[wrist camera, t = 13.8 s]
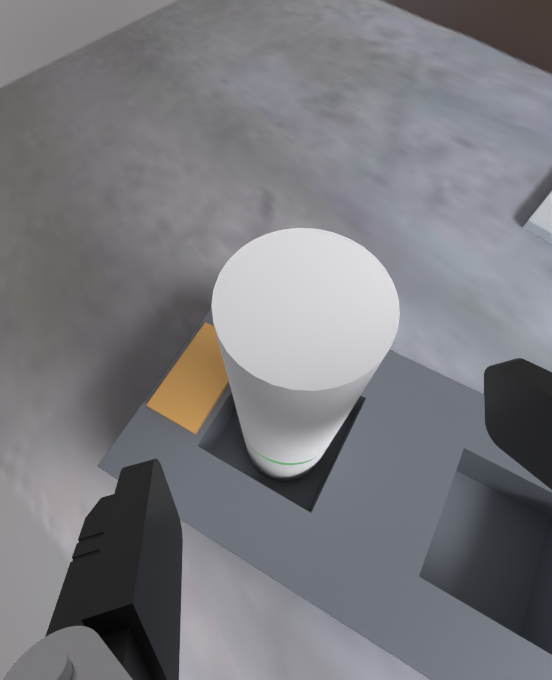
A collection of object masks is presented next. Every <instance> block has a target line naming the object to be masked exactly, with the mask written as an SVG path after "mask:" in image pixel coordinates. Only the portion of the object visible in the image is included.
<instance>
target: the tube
mask: <svg viewBox="0 0 552 680" xmlns="http://www.w3.org/2000/svg"><path fill="white" fill-rule="evenodd" d="M211 307H212V316H213V324H214V327H215V331H216V335H217V339H218V342H219V346H220V350H221V354H222V357H223V361H224V365H225V369H226V372H227V376H228V380H229V384H230V388H231V391H232V395H233V399H234V403H235V406H236V410H237V414H238V418H239V421H240V425H241V429H242V433H243V436H244V440H245V444H246V448H247V451H248V454H249V457H250V459H251V461H252V463H253V465H254V466H255V467H256V468H257V469H258V471H260V472H261V473H262V474H263V475H265V476H267V477H269V478H271V479H274V480H278V481H293V480H297V479H300V478H302V477H304V476H306V475H307V474H309V473H310V472H311V471H312V470H313V469H314V468H315V466H316V465H317V464H318V462H319V461H320V459H321V457H322V456H323V454H324V453H325V451H326V449H327V448H328V446H329V445H330V443H331V441H332V440H333V438H334V437H335V435H336V434H337V432H338V430H339V429H340V427H341V426H342V424H343V422H344V421H345V419H346V418H347V416H348V415H349V413H350V411H351V410H352V408H353V407H354V405H355V403H356V402H357V400H358V399H359V397H360V395H361V394H362V392H363V391H364V389H365V387H366V386H367V384H368V383H369V381H370V379H371V378H372V376H373V375H374V373H375V372H376V370H377V368H378V367H379V365H380V364H381V362H382V360H383V359H384V357H385V356H386V354H387V352H388V351H389V349H390V348H391V346H392V343H393V341H394V338H395V336H396V333H397V330H398V324H399V317H400V310H399V300H398V295H397V292H396V289H395V286H394V283H393V281H392V279H391V277H390V276H389V274H388V272H387V271H386V269H385V267H384V266H383V265H382V264H381V263H380V262H379V261H378V259H377V258H376V257H375V256H374V255H373V254H371V253H370V252H369V251H368V250H367V249H365V248H364V247H363V246H361V245H359V244H358V243H356V242H354V241H352V240H351V239H349V238H346V237H344V236H341V235H339V234H336V233H333V232H329V231H324V230H320V229H311V228H293V229H284V230H279V231H275V232H272V233H268V234H265V235H263V236H261V237H259V238H257V239H254V240H252V241H251V242H249V243H248V244H246V245H245V246H243V247H242V248H240V249H239V250H238V251H237V252H236V253H235V254H234V255H233V256H232V257H231V258H230V259H229V260H228V261H227V263H226V264H225V266H224V267H223V269H222V270H221V272H220V273H219V276H218V279H217V281H216V284H215V286H214V289H213V297H212V304H211Z"/></svg>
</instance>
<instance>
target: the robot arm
mask: <svg viewBox="0 0 552 680" xmlns="http://www.w3.org/2000/svg"><path fill="white" fill-rule="evenodd" d="M484 404H485V425H486V429H487V432H488V434H489V436H490V438H491V439H492V441H493V442H494V443H495V445H496V446H498V447H499V448H500V449H501V450H502V451H504V452H505V453H506V454H507V455H509V456H510V457H511V458H512V459H514V460H515V461H516V462H517V463H519V464H520V465H521V466H522V467H524V468H525V469H526V470H527V471H529V472H530V473H531V474H532V475H534V476H535V477H536V478H537V479H539V480H540V481H541V482H542V483H544V484H545V485H546V486H547V487H549V488H550V489H551V490H552V372H550V371H548V370H545V369H543V368H541V367H539V366H537V365H535V364H533V363H531V362H529V361H526V360H524V359H521V358H517V359H513V360H510V361H506V362H503V363H499V364H495V365H492V366H489V367H488V368H487V369H486V370H485V373H484ZM78 540H79V543H77V545H76V548H75V551H74V553H73V556H72V558H73V562H70V565H69V568H68V572H67V574H66V578H65V580H64V583H63V586H62V589H61V592H60V595H59V599H58V601H57V604H56V607H55V610H54V613H53V616H52V619H51V622H50V625H49V628H48V631H47V634H46V636H45V638H43V639H42V640H40V641H39V642H37V643H36V644H35V645H33V646H32V647H31V648H30V649H29V650H28V651H27V652H25V653H24V654H23V655H22V656H21V657H20V658H19V659H18V661H17V662H16V663H15V664H14V665H13V666H12V668H11V669H10V670H9V672H8V673H7V674H6V676H5V677H4V679H3V680H179V650H180V614H181V578H182V529H181V523H180V518H179V515H178V511H177V508H176V506H175V503H174V500H173V497H172V494H171V492H170V489H169V486H168V483H167V480H166V477H165V475H164V472H163V469H162V466H161V464H160V462H159V460H158V459H152V460H148V461H145V462H141V463H138V464H134V465H130V466H127V467H123V468H122V469H121V472H120V475H119V479H118V483H117V487H116V490H115V494H113V495H110V496H106V497H103V498H101V499H100V500H99V501H98V503H97V504H96V505H95V507H94V508H93V509H92V510H91V512H90V513H89V514H88V516H87V517H86V518H85V521H84V524H83V527H82V530H81V533H80V536H79V539H78Z"/></svg>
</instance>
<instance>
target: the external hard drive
mask: <svg viewBox="0 0 552 680" xmlns="http://www.w3.org/2000/svg"><path fill="white" fill-rule="evenodd" d="M522 228H523V229H525V230H527V231H529V232H530V233H532V234H534V235H536V236H538V237H539V238H541V239H543V240H544V241H546V242H548V243H550V244H552V191H551V192H550V193H549V194H548V196H547V197H546V198H545V199H544V201H543V202H542V203H541V204H540V206H539V207H538V208H537V209H536V211H535V212H534V213H533V214H532V216H531V217H530V218H529V219H528V221H527V222H526V223H525V224H524V226H523V227H522Z"/></svg>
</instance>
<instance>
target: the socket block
mask: <svg viewBox="0 0 552 680" xmlns="http://www.w3.org/2000/svg"><path fill="white" fill-rule="evenodd" d="M152 459H158V460H159V462H160V464H161V466H162V469H163V472H164V475H165V477H166V480H167V483H168V486H169V489H170V492H171V494H172V497H173V500H174V503H175V506H176V508H177V511H178V515H179V518H180V519H181V520H182V521H184V522H185V523H187V524H188V525H190V526H191V527H193V528H195V529H196V530H198V531H199V532H201V533H202V534H204V535H206V536H207V537H209V538H210V539H212V540H213V541H215V542H216V543H218V544H220V545H221V546H223V547H224V548H226V549H227V550H229V551H231V552H232V553H234V554H235V555H237V556H238V557H240V558H241V559H243V560H245V561H246V562H248V563H249V564H251V565H252V566H254V567H256V568H257V569H259V570H260V571H262V572H263V573H265V574H266V575H268V576H270V577H271V578H273V579H274V580H276V581H277V582H279V583H281V584H282V585H284V586H285V587H287V588H288V589H290V590H291V591H293V592H295V593H296V594H298V595H299V596H301V597H302V598H304V599H306V600H307V601H309V602H310V603H312V604H313V605H315V606H316V607H318V608H320V609H321V610H323V611H324V612H326V613H327V614H329V615H331V616H332V617H334V618H335V619H337V620H338V621H340V622H342V623H343V624H345V625H346V626H348V627H349V628H351V629H352V630H354V631H356V632H357V633H359V634H360V635H362V636H363V637H365V638H367V639H368V640H370V641H371V642H373V643H374V644H376V645H377V646H379V647H381V648H382V649H384V650H385V651H387V652H388V653H390V654H392V655H393V656H395V657H396V658H398V659H399V660H401V661H402V662H404V663H406V664H407V665H409V666H410V667H412V668H413V669H415V670H417V671H418V672H420V673H421V674H423V675H424V676H426V677H427V678H429V679H431V680H552V490H551V489H550V488H549V487H547V486H546V485H545V484H544V483H542V482H541V481H540V480H539V479H537V478H536V477H535V476H534V475H532V474H531V473H530V472H529V471H527V470H526V469H525V468H524V467H522V466H521V465H520V464H519V463H517V462H516V461H515V460H514V459H512V458H511V457H510V456H509V455H507V454H506V453H505V452H504V451H502V450H501V449H500V448H499V447H498V446H496V445H495V443H494V442H493V441H492V439H491V438H490V436H489V434H488V432H487V429H486V425H485V404H484V395H483V394H481V393H479V392H477V391H475V390H473V389H471V388H468V387H466V386H464V385H462V384H460V383H458V382H456V381H454V380H452V379H450V378H447V377H445V376H443V375H441V374H439V373H437V372H435V371H433V370H431V369H429V368H426V367H424V366H422V365H420V364H418V363H416V362H414V361H412V360H410V359H408V358H405V357H403V356H401V355H399V354H397V353H395V352H393V351H391V350H389V351H388V352H387V354H386V356H385V357H384V359H383V360H382V362H381V364H380V365H379V367H378V368H377V370H376V372H375V373H374V375H373V376H372V378H371V379H370V381H369V383H368V384H367V386H366V387H365V389H364V391H363V392H362V394H361V395H360V397H359V399H358V400H357V402H356V403H355V405H354V407H353V408H352V410H351V411H350V413H349V415H348V416H347V418H346V419H345V421H344V422H343V424H342V426H341V427H340V429H339V430H338V432H337V434H336V435H335V437H334V438H333V440H332V441H331V443H330V445H329V446H328V448H327V449H326V451H325V453H324V454H323V456H322V457H321V459H320V461H319V462H318V464H317V465H316V466H315V468H314V469H313V470H312V471H311V472H310V473H309V474H307V475H306V476H304V477H302V478H300V479H297V480H293V481H278V480H274V479H271V478H269V477H267V476H265V475H263V474H262V473H261V472H260V471H258V469H257V468H256V467H255V466H254V465H253V463H252V461H251V459H250V457H249V454H248V451H247V448H246V444H245V440H244V436H243V433H242V429H241V425H240V421H239V418H238V414H237V410H236V406H235V403H234V399H233V395H232V391H231V388H230V384H229V380H228V376H227V372H226V369H225V365H224V361H223V357H222V354H221V350H220V346H219V342H218V339H217V335H216V331H215V327H214V324H213V316H212V307H211V308H210V310H209V311H208V313H207V314H206V315H205V317H204V318H203V320H202V321H201V322H200V324H199V325H198V327H197V328H196V329H195V331H194V332H193V334H192V335H191V336H190V338H189V339H188V341H187V342H186V343H185V345H184V346H183V347H182V349H181V350H180V352H179V353H178V354H177V356H176V357H175V359H174V360H173V361H172V363H171V364H170V366H169V367H168V368H167V370H166V371H165V373H164V374H163V375H162V377H161V378H160V379H159V381H158V382H157V384H156V385H155V386H154V388H153V389H152V391H151V392H150V393H149V395H148V396H147V398H146V399H145V400H144V402H143V403H142V405H141V406H140V407H139V409H138V410H137V411H136V413H135V414H134V416H133V417H132V418H131V420H130V421H129V423H128V424H127V425H126V427H125V428H124V430H123V431H122V432H121V434H120V435H119V437H118V438H117V439H116V441H115V442H114V444H113V445H112V446H111V448H110V449H109V450H108V452H107V453H106V455H105V456H104V457H103V459H102V460H101V462H100V463H99V464H98V467H99V468H101V469H102V470H104V471H106V472H107V473H109V474H110V475H112V476H113V477H115V478H116V479H119V475H120V472H121V469H122V468H123V467H127V466H130V465H134V464H138V463H141V462H145V461H148V460H152Z"/></svg>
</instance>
